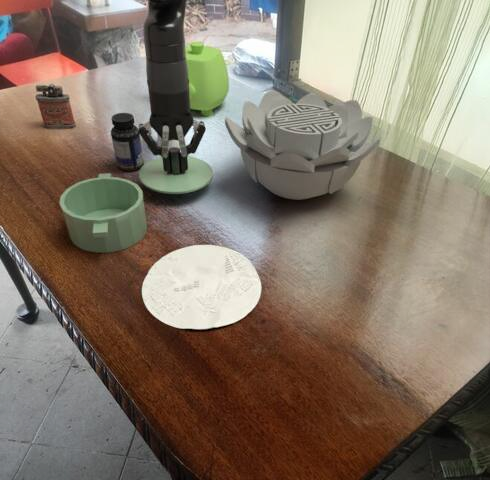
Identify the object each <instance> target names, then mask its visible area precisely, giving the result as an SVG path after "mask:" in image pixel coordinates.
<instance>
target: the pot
mask: <svg viewBox="0 0 490 480" xmlns="http://www.w3.org/2000/svg"><path fill="white" fill-rule="evenodd" d="M58 204H59V207H60V211H61V214H62V217H63V221H64V225H65V227H66V231H67V234H68V236H69V239H70V241H71V242H72V243H73V244H74V246H76V247H78V248H79V249H81V250H83V251H85V252H90V253H98V254H100V253H101V254H105V253H115V252H121V251H123V250H126V249H129V248H131V247H133V246H135V245H136V244H138V243H139V242H141V241H142V240H143V238H144V237H145V236H146V234H147V231H148V219H147V212H146V205H145V199H144V192H143V190H142V189H141V187H140V186H139V184H138V183H135V182H133V181H131V180H129V179H126V178H121V177H116V176H115V177H114V176H112V173H111V172H109V173H108V172H107V173H98V177H91V178H88V179H85V180H81V181H79V182H76V183H74V184H73V185H71V186H69V187H67V189H65V190H64V191H63V193H62V194H61V195H60V198H59V203H58Z"/></svg>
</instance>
